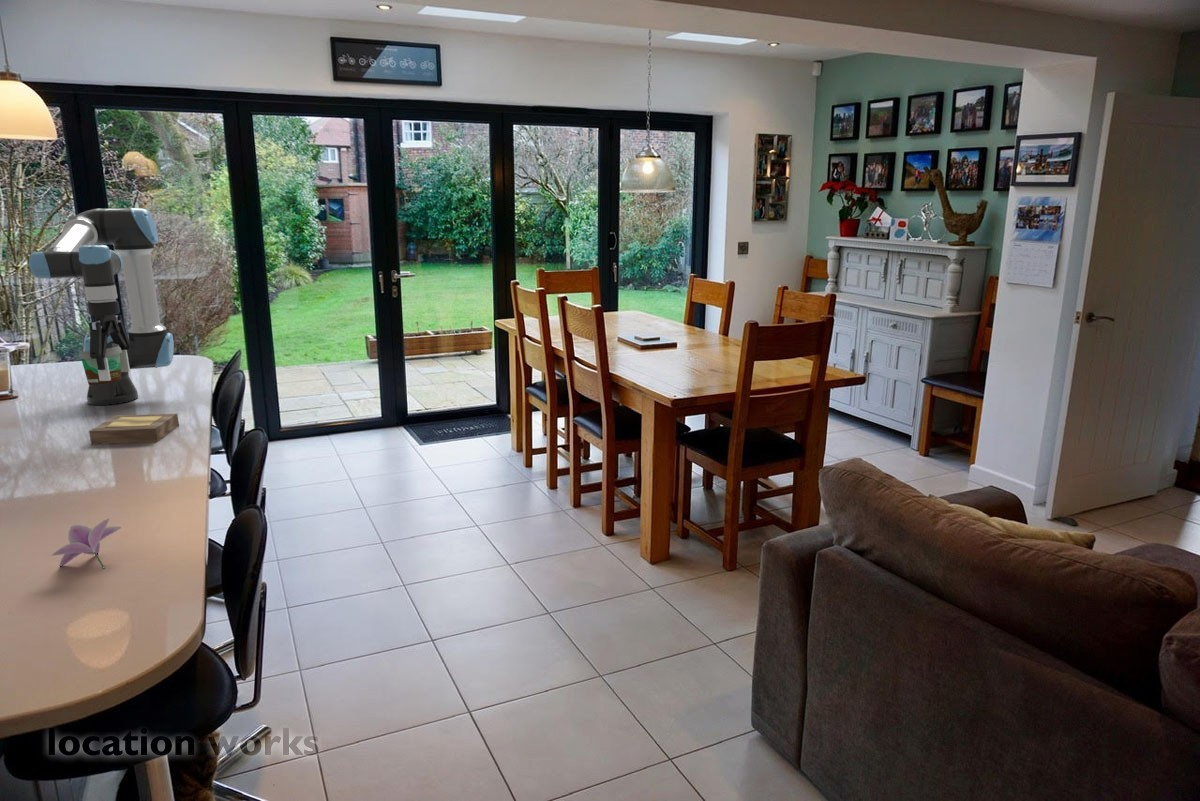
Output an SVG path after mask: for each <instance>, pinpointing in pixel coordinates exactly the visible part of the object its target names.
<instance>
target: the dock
mask: <svg viewBox="0 0 1200 801" xmlns="http://www.w3.org/2000/svg"><path fill="white" fill-rule="evenodd" d="M178 416H179V414H178V413H150V414H148V413H147V414H128V415H127V414H124V415H120V414H119V415H113V416H112V417H110V418H109V419H107V420H105V421H103V422H102V423H100V424H98V425H97V426H95V427H94V428H91V429H90V430H89V431H88V434H89V438H90V444H91V445H103V444H102V443H114V444H129V443H128V442H138V443H155V442H157V441H158V442H159V441H161V440H162V439H163V438H165V437H166V436H167V435H169V434H170V433H172V432H173V431H174V430H176V429H177V428H178V427H179V426H180V422H179V417H178ZM176 427H177V428H176ZM175 428H176V429H175ZM160 439H161V440H160Z"/></svg>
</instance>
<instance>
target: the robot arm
mask: <svg viewBox="0 0 1200 801" xmlns="http://www.w3.org/2000/svg"><path fill="white" fill-rule="evenodd" d="M158 233H159V232H158V229H157V225H156V222H155V220H154V217H153V216H152V214H151V212H150V211H149V210H148V209H146V208H140V207H139V208H137V207H136V208H135V207H127V208H91V209H89V210H85V211H83V212H79V213H78V214H76V215H74V216H73V217H71V218H69V219H68V220H67V221H66V222H65V224H64V225H63V227H62V233H61V234H60V235H59V236H58V237H57V238H56V240H55V241H54V242H53V243H52V244H51V245H50V247H49V248H47V250H46V251H42V250H40V251H36V252H31V253H30V255H29V258H28V266H29V269H30V272H31V274H32V276H33V277H34V278H36V279H48V280H51V279H66V278H67V279H68V278H69V279H71V278H82V281H83V286H84V290H83V291H84V293H85V297H86V300H87V301H88V302H87V304H86V305H87V309H88V310H87V311H88V314H89V316H93V317H94V321H93V322H89V323H88V326H89V336H88V337H87V338H85V339H84V341H83V349H84V350H83V351H90V357H91V358H92V359H96V363H97V369H98V375H99V380H100V381H110V380H111V377H110V371H109V366H108V360H107V358H105V353H106V348H109V347H112V344H118V345H119V347H120V348H121V350H122V353H120V365H121V378H122V379H121V380H120V381H117V382H114V383H109V384H101V385H89V384H88V389H87V393H86V400H87V404H88V405H91V406H109V404H112V405H117V404H116V403H119V404H124V403H123V402H125V403H128V401H129V402H132V401H135V400H137V399H138V398H139V395H138V394H139V392H138V390H137V387H136V386H135V384H134V382H133V381H132V379H131V377H130V373H129V372H131V370H135V369H137V370H138V369H139V370H140V369H151V368H152V369H153V368H155V369H158V368H163V367H169V366H170V365H171V364H172V362H173V359H174V349H175V348H174V347H175V346H174V344H175V343H174V342H175V341H174V336H173V334H172V333H171V332H168V330H167V327H166V326H164V324H162V323H161V317H160V313H159V312H160V311H159V310H160V309H159V305H158V304H159V303H158V298H157V290H156V284H155V279H154V278H155V276H154V272H153V265H152V258H151V254H152V252H153V251H154V250H155V245H156V244H158V243H159V236H158V235H159V234H158ZM108 245H113V247H114V248H113V249H114V250H112V249H110V246H108ZM120 271H123V277H124V283H125V284H124V285H125V289H126V296H127V301H128V309H129V313H130V315H129V316H130V319H131V320H130V321H131V326H130V327H129V329H128V330H127V331H126V328H125V324H124V323H123V322H124V320H123V317H122V315H119V314H120V311H121V310H120V304H119V301H118V300H117V299H118V292H117V286H116V282H115V276H116V275H117V274H118V273H120ZM136 398H137V399H136ZM134 399H135V400H134ZM131 400H132V401H131Z"/></svg>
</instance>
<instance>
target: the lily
mask: <svg viewBox="0 0 1200 801" xmlns="http://www.w3.org/2000/svg"><path fill="white" fill-rule="evenodd" d="M109 521H110V518H107V519H105V520H103V521H101V522H99V523H98V524H97V525H95V526H94V527H93V528H90V527H88V526H85V525H80V524H79V525H77V524H75V525H72V526H71V527H70V528H69V530H68V536H67V537H68V539H67V540H68V542H69V543H68V544H66V545H64V546H62V547H60V548H59V549H58V550H56V551H55V552H54V553H52V554H51V556H52V557H53V556H60V555H63V556H62V558H61V560H60V562H59V566H62V565H64V566H65V565H67V564H68V563H69V562H71V561H72V560H73V559H74V558H77V557H78V556H79V555H81V554H86V555H93V556H95V557H96V559H97V560H98V563H99V564H100V565H101V568H103V567H105V566H104V564H103V563H102V561H101V559H100V558H99V556H98V555H97V553H100V551H101V550H100V548H101V543H100V542H101V541H103V540H104V539H105V538H106V537H109V536H111V535H112V534H114V533H115V532H116V533H117V531H118V530H120V529H122V527H121V526H107V525H108V523H109ZM94 554H95V555H94ZM62 567H63V566H62Z"/></svg>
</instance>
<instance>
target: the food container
mask: <svg viewBox="0 0 1200 801" xmlns="http://www.w3.org/2000/svg"><path fill="white" fill-rule="evenodd" d="M78 352H79V353H78V359H80V360H81V363H82V366H83V369H84V373H85V377H86V380H87V383H88V386H89V385H101V384H109V383H114V382H117V381H120V380H121V379H122V378H121V365H120V353H122V350H121V348H120V347H119V345H118V344H112V347H109V348H106V353H105V358H107V360H108V366H109V371H110V377H111V380H110V381H100V380H99V375H98V369H97V363H96V359H92V358H91V357H90V351H85V350H83V351H82V350H80V351H78Z"/></svg>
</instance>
